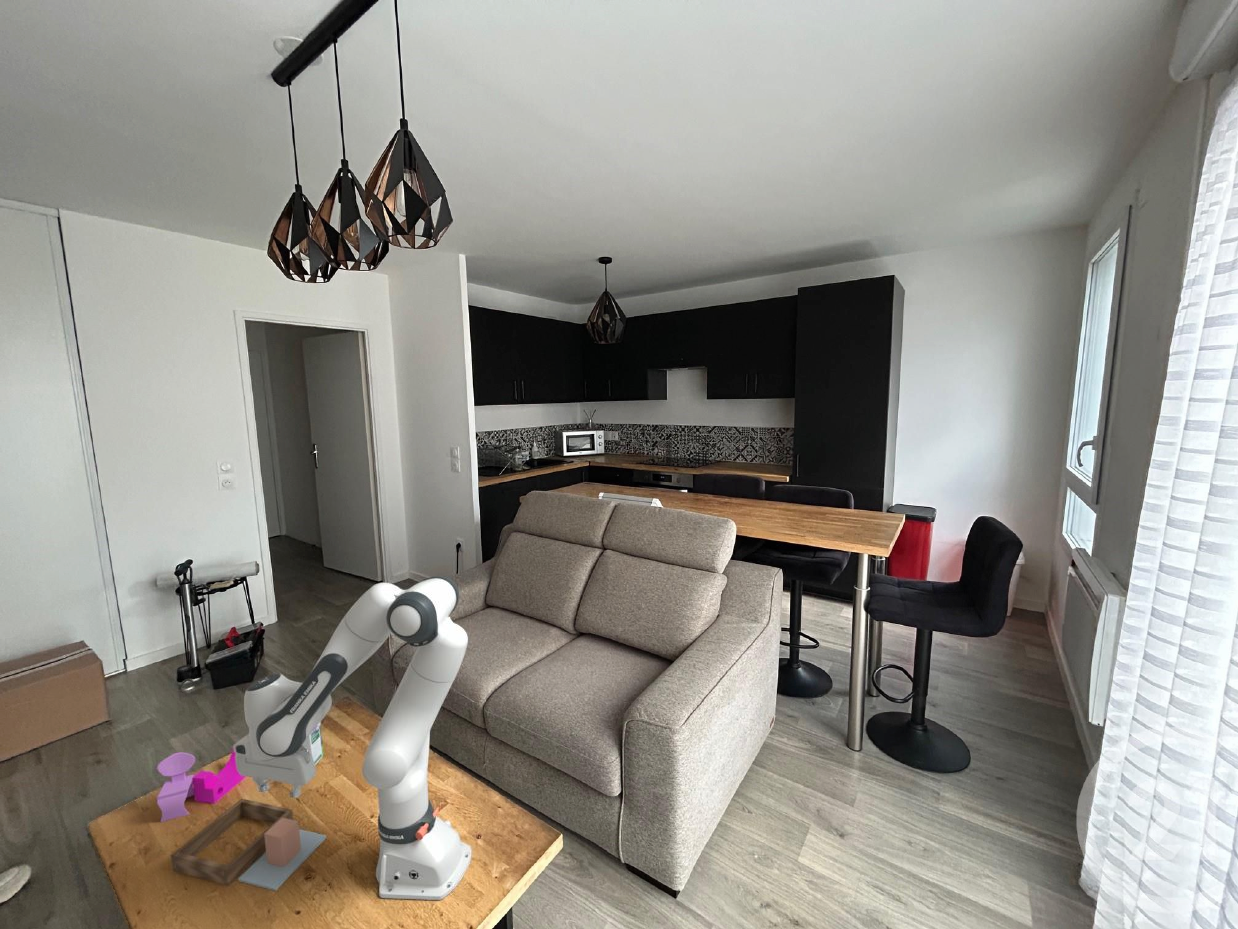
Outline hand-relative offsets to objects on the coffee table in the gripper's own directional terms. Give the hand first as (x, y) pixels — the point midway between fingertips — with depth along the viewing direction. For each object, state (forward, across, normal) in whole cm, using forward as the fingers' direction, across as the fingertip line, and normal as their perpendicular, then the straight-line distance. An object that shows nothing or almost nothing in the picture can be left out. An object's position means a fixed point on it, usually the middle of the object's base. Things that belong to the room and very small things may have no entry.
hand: (280, 793), depth 124 cm
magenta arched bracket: (+17, +40, -17) cm, 46 cm away
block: (+17, +1, 0) cm, 17 cm away
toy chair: (+17, +44, -6) cm, 47 cm away
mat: (+18, +1, 0) cm, 18 cm away
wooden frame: (+18, +16, 0) cm, 24 cm away
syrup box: (+18, +23, -30) cm, 42 cm away
